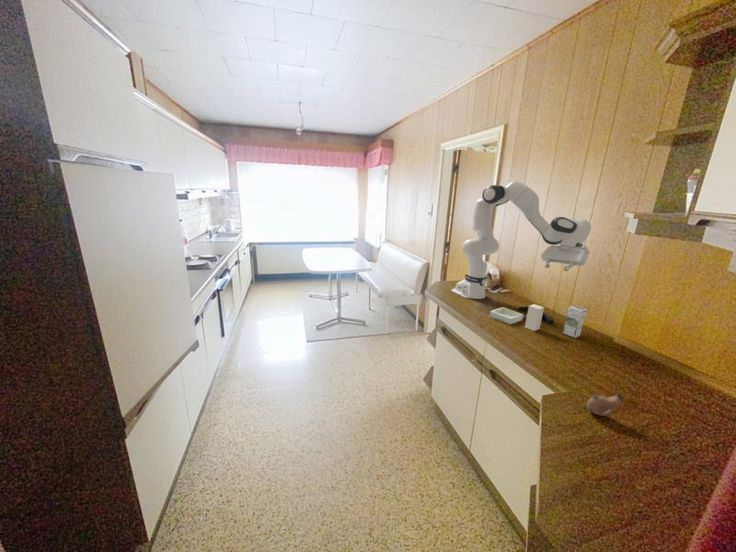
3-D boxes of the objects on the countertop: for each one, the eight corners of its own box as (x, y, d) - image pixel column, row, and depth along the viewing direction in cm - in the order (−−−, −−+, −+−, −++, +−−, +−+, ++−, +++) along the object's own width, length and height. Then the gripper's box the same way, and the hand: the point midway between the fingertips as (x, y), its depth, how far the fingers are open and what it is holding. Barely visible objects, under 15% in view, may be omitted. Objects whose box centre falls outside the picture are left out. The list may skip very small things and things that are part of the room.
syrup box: (580, 335, 140) (587, 308, 136) (574, 338, 137) (581, 310, 133) (567, 330, 145) (574, 304, 141) (561, 333, 142) (568, 306, 138)
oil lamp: (613, 412, 90) (620, 391, 88) (621, 422, 86) (629, 400, 84) (582, 408, 91) (588, 387, 89) (589, 417, 87) (596, 395, 85)
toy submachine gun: (525, 318, 152) (557, 319, 150) (511, 305, 172) (539, 305, 170) (524, 324, 153) (556, 325, 151) (510, 310, 172) (539, 310, 170)
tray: (489, 316, 159) (490, 310, 158) (501, 312, 165) (502, 306, 164) (509, 325, 149) (510, 318, 148) (522, 320, 156) (523, 314, 155)
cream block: (524, 327, 147) (528, 305, 144) (529, 325, 150) (534, 304, 147) (534, 331, 143) (539, 309, 140) (539, 328, 146) (544, 307, 143)
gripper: (546, 241, 153) (533, 262, 151) (589, 245, 135) (574, 268, 133) (551, 249, 156) (538, 269, 154) (593, 253, 138) (579, 275, 136)
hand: (555, 268), depth 143 cm, fingers open, 8 cm apart
